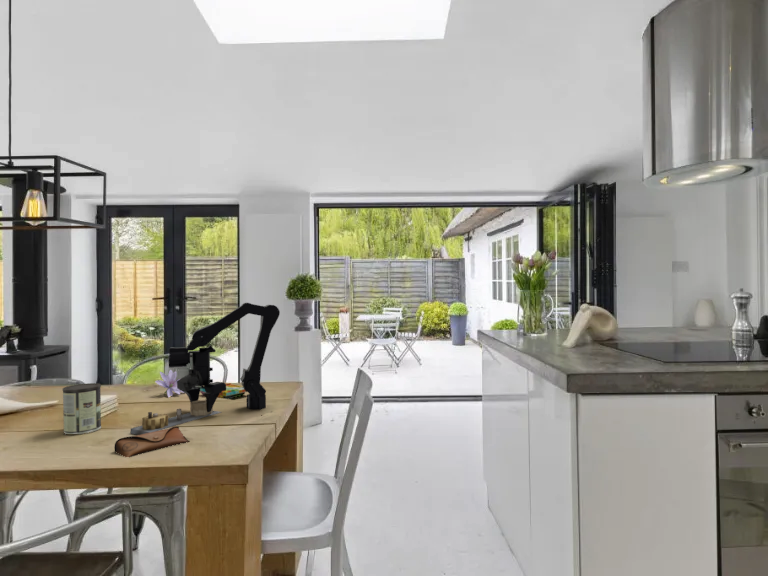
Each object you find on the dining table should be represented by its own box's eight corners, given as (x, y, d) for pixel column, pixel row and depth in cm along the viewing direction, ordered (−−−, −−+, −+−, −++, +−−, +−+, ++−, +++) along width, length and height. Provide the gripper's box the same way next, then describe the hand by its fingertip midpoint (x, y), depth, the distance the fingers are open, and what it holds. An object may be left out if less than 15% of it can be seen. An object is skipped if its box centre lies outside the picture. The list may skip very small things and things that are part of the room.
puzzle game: (223, 380, 207) (250, 385, 194) (223, 391, 207) (251, 397, 194) (199, 385, 197) (226, 390, 185) (199, 396, 197) (226, 402, 185)
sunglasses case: (125, 458, 121) (120, 433, 124) (117, 466, 125) (112, 442, 128) (192, 441, 135) (186, 419, 137) (182, 449, 139) (177, 428, 141)
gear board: (222, 416, 162) (221, 398, 163) (150, 437, 139) (150, 416, 139) (202, 413, 167) (202, 395, 167) (130, 433, 144) (130, 413, 144)
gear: (216, 412, 162) (216, 400, 162) (200, 417, 156) (200, 405, 156) (203, 410, 166) (203, 398, 166) (186, 414, 160) (186, 403, 160)
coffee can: (82, 425, 154) (82, 382, 154) (108, 426, 152) (108, 383, 152) (54, 434, 144) (54, 389, 144) (81, 436, 142) (81, 390, 142)
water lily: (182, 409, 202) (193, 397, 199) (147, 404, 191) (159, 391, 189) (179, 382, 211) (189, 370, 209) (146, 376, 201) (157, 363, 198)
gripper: (163, 367, 159) (163, 412, 159) (200, 371, 150) (200, 419, 149) (190, 362, 168) (191, 405, 168) (227, 366, 159) (227, 411, 159)
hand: (201, 410), depth 161 cm, fingers closed on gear, 7 cm apart
